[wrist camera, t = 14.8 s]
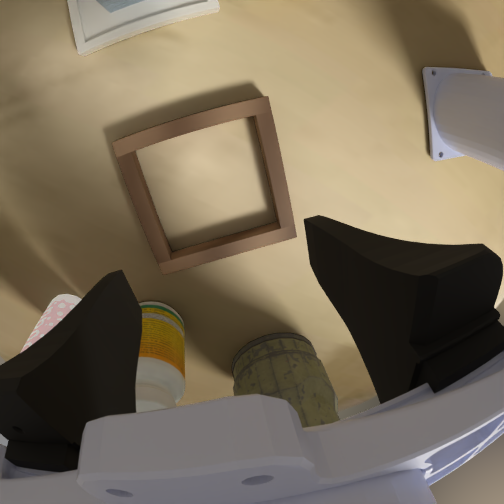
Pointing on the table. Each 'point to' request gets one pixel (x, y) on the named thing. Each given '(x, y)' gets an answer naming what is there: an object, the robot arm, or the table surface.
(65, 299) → the beverage cup
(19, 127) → the table surface
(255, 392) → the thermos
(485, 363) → the robot arm
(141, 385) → the supplement bottle
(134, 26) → the tray
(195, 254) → the socket
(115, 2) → the brushed metal block
